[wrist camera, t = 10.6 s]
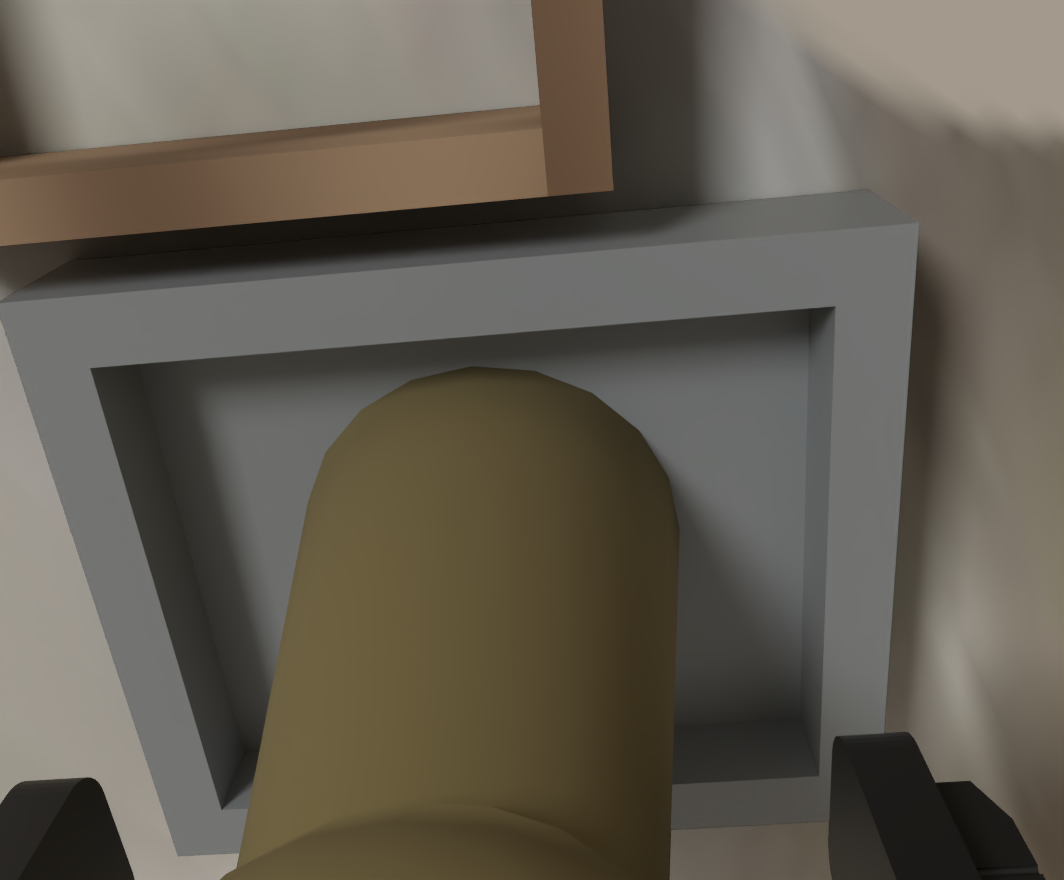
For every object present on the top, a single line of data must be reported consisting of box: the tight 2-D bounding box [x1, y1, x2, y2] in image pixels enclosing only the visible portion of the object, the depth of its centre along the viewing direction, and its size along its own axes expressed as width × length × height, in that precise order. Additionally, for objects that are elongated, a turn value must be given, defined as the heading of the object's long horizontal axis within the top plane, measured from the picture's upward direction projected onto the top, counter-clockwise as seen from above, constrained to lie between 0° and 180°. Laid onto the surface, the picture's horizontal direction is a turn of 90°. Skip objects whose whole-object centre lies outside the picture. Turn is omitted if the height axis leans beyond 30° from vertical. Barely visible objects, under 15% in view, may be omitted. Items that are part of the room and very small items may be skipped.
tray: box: [0, 190, 919, 856], centre depth 16 cm, size 12×10×2 cm
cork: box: [220, 366, 680, 880], centre depth 11 cm, size 6×6×11 cm
